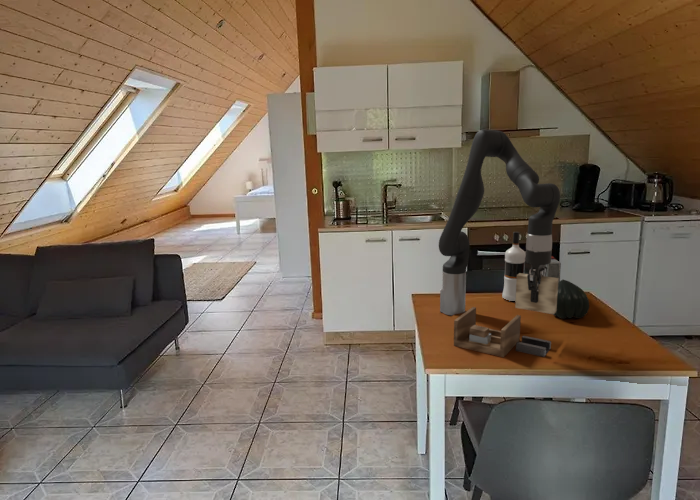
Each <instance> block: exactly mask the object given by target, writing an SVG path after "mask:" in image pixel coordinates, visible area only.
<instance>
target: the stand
mask: <svg viewBox="0 0 700 500" xmlns="http://www.w3.org/2000/svg"><path fill="white" fill-rule="evenodd" d="M551 346H552V341H550V340H547V339H542V338H538V337H531V336H527V335H522V336H521V341H519V342H517V343H516V345H515V351H516V352H520V353H524V354H528V355H532V356H537V357H543V358H545V357H546V355H547V354H548V353H549V352H550V350H552V349H551Z"/></svg>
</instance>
